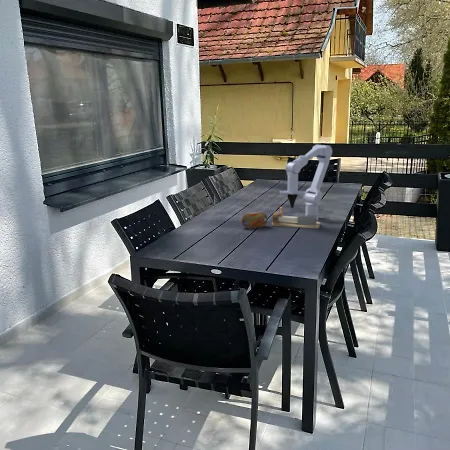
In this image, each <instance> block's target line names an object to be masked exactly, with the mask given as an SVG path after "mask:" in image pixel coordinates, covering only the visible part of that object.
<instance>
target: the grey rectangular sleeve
mask: <svg viewBox="0 0 450 450" xmlns="http://www.w3.org/2000/svg"><path fill="white" fill-rule="evenodd" d="M297 217H298V224H299V225H316V222H317V221H316V216H315V215H306V214H298V216H297Z"/></svg>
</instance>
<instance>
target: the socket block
mask: <svg viewBox="0 0 450 450" xmlns="http://www.w3.org/2000/svg"><path fill="white" fill-rule="evenodd" d="M278 216H280V211H274V212H273V214H272V222H273V224H278V223H279V221H278Z"/></svg>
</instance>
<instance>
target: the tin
mask: <svg viewBox="0 0 450 450" xmlns="http://www.w3.org/2000/svg"><path fill="white" fill-rule="evenodd" d="M240 222H241V224H242V226H243V227H244V228H246V229H256V228H263V227H265V226H266V225H267V223H268V216H267V214H266V213H264V212H263V211H262V212H261V211H259V212H257V211H256V212H247V213H245V214H243V215H242V217H241V221H240Z"/></svg>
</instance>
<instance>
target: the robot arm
mask: <svg viewBox="0 0 450 450" xmlns="http://www.w3.org/2000/svg"><path fill="white" fill-rule="evenodd" d="M332 155H333V148H332V146H331V145H328V144H327V145H323V144H315V145H313V146H312V149H310V150H309V151H308V152H307V153H306V154H304V155H299V156H298V157H297V158H296V159H294V160H293V161H289V162H288V163H286V166H285V171H286V175H287V190H279V195H280V196H281V195H284V196H287V199H288V201H289V204H290V208H291V209H294V207H295V202H296V200H297V197H298V196H303V197H302V200H303V202H304V204H305V215H315V216H316V222H319V219H320V216H319V215H318V214H319V205H320V204H321V201H322V195H323V192H322V191H321V188H322V184H323V181H324V178H325V175H326V172H327V170H328V167H329V164H330V161H331V157H332ZM313 158H316V159H317V160H318V165H317V168H316V171H315V174H314V177H313V179H312V183H311V186H310V187H309V188H307V189H306V191H302V190H299V189H298V188H299V173H300V172H301V169H303V167H305V166H306V165H307V164H308V162H309V161H310V160H312V159H313Z"/></svg>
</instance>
